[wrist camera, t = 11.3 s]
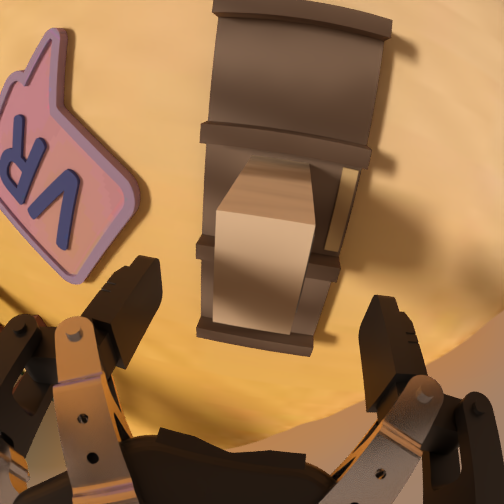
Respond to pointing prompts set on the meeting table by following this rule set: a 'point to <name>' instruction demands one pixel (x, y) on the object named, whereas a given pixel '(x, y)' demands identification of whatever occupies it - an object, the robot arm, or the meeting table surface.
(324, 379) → the meeting table surface
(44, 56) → the icon
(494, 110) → the meeting table surface
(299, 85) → the notched ledge
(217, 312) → the oak block
